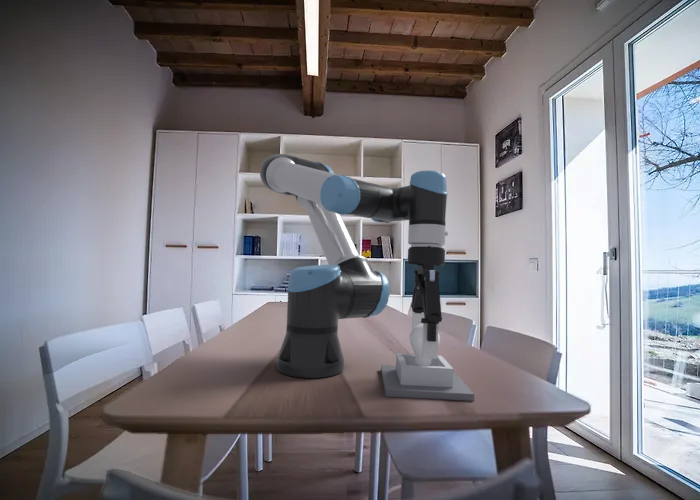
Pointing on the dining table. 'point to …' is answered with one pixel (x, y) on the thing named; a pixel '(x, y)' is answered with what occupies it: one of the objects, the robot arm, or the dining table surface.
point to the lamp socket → (423, 380)
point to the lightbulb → (419, 345)
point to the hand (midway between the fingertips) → (423, 349)
